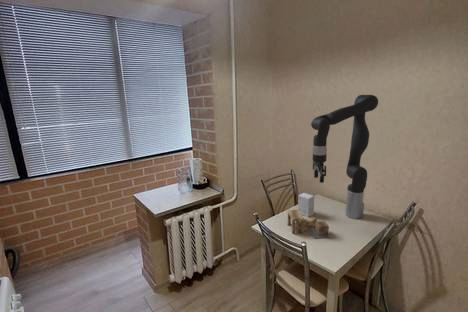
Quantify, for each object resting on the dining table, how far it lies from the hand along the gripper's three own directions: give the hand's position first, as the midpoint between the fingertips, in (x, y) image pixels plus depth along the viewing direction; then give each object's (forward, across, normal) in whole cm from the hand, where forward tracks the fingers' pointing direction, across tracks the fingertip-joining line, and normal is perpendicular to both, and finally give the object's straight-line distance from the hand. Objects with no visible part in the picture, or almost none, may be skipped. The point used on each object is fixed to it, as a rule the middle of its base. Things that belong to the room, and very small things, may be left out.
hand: (318, 179), depth 145 cm
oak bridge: (+28, -4, +15) cm, 32 cm away
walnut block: (+28, -11, +2) cm, 30 cm away
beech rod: (+28, -4, +9) cm, 30 cm away
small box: (+28, +13, +3) cm, 31 cm away
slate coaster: (+28, -11, +3) cm, 30 cm away
